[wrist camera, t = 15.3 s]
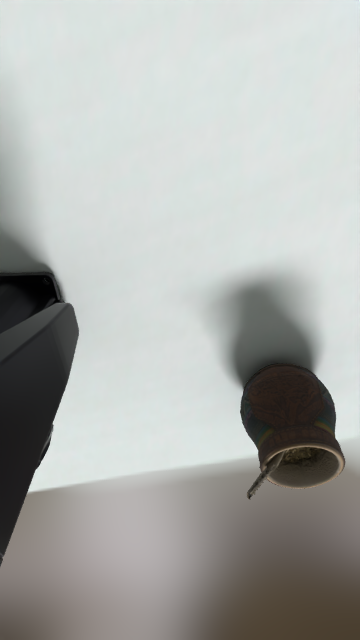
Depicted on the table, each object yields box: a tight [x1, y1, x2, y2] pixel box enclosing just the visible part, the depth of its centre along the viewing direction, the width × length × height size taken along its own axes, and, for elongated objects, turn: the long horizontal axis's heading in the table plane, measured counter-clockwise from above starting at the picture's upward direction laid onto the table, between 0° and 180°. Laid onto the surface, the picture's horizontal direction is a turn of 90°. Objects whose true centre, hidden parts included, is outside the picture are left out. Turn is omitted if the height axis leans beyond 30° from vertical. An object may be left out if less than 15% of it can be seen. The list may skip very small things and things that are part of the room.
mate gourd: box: [240, 363, 345, 499], centre depth 25 cm, size 7×8×10 cm
